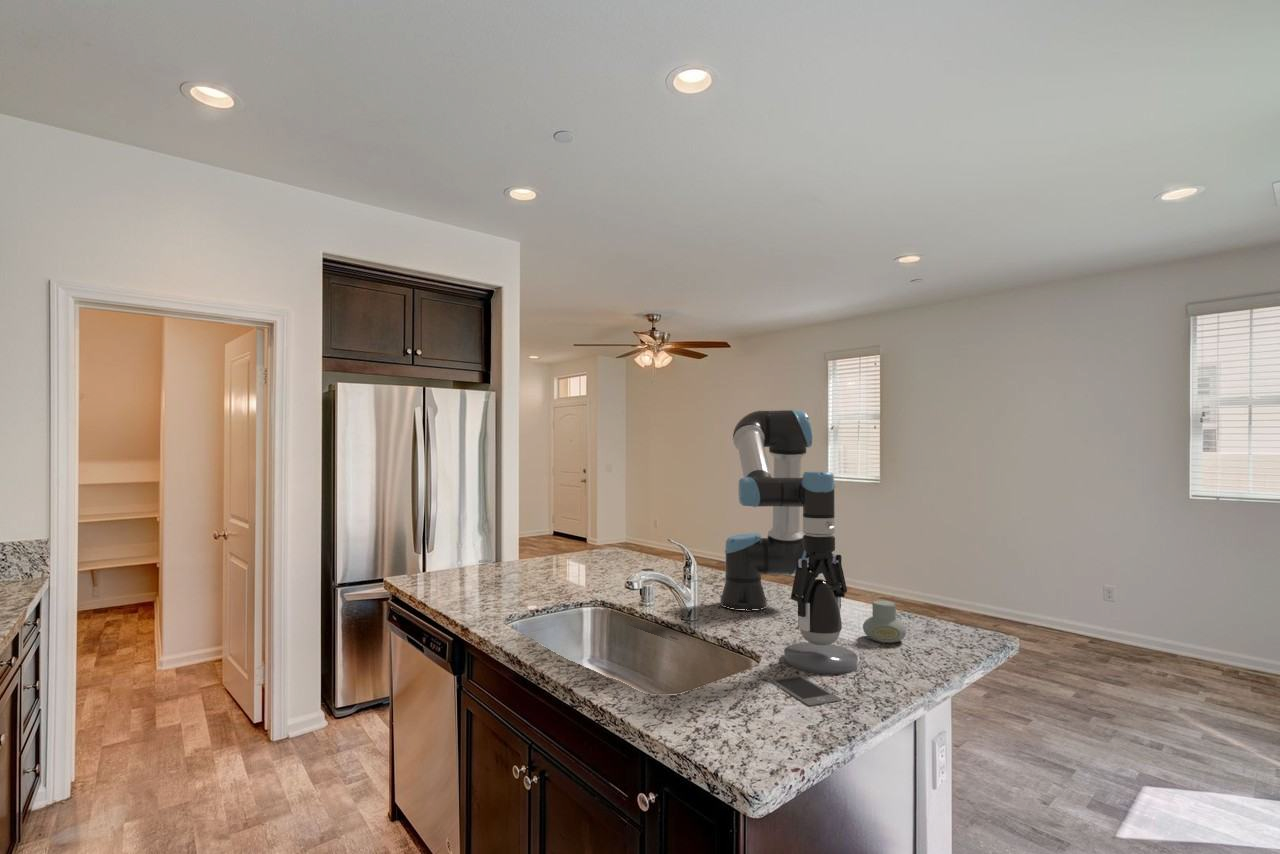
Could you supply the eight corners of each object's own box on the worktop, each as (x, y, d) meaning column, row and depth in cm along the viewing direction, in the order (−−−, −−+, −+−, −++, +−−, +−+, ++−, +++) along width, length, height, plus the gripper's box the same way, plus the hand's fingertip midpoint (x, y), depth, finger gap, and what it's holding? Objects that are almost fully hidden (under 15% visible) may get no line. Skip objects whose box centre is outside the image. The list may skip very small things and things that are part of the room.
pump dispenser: (848, 648, 143) (847, 583, 144) (804, 648, 143) (803, 583, 144) (835, 635, 153) (834, 574, 154) (794, 635, 154) (793, 574, 154)
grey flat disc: (816, 646, 160) (816, 638, 160) (872, 665, 146) (872, 656, 146) (769, 658, 151) (769, 649, 151) (824, 679, 136) (824, 670, 136)
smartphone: (767, 682, 136) (767, 679, 136) (798, 677, 139) (798, 674, 139) (808, 708, 122) (808, 705, 122) (842, 702, 125) (842, 699, 125)
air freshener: (863, 642, 163) (863, 605, 163) (862, 634, 171) (861, 597, 171) (908, 646, 160) (907, 608, 160) (904, 637, 167) (904, 600, 168)
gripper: (798, 540, 140) (799, 638, 139) (861, 532, 152) (862, 622, 151) (774, 536, 146) (775, 630, 145) (837, 529, 159) (838, 616, 158)
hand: (819, 626), depth 148 cm, fingers closed on pump dispenser, 10 cm apart
